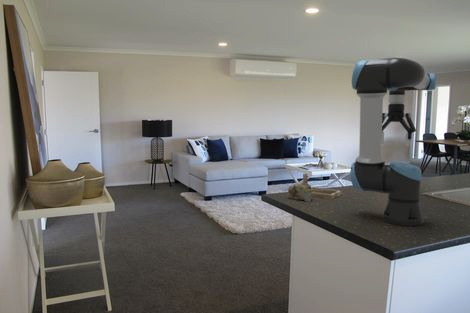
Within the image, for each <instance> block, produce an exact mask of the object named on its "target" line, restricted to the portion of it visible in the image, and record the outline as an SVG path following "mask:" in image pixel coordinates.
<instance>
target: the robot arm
mask: <svg viewBox="0 0 470 313" xmlns="http://www.w3.org/2000/svg"><path fill="white" fill-rule="evenodd" d="M437 81H438V80H437V74H436V73H431V72H429V73H426V72H425V69H424V67H423V66H422V65H421V64H420V63H419V62H417V61H415V60H411V59H408V58H405V57H404V58H403V57H389V58H388V57H386V58H368V59H362V60H359V61H357V63H355V65H354V67H353V71H352V75H351V87H352V89H353V90H355V91H356V95H357V96H358V98H360V99H359V100H360V102H359V105H360V106H359V108H360V110H359V111H360V112H359V145H358V146H359V147H358V148H359V151H358V154H359V155H358V156H357V157H356V158H355V159H354V160H355V162H352V163H351V165H350V171H349V172H350V173H349V175H350V176H349V177H350V182H351V185H352V186H353V188H354V189H355V190H357V191H363V192H372V193H381V194H388V197H387V202H386V205H385V207H384V209H383V212H382V220H383V221H384V222H387V223H389V224H392V225H396V226H403V227H417V226H421V225H423V224H424V214H423V211H422V207H421V203H420V201H421V188H422V187H421V184H422V180H423V179H422V169H421V168H420V167H419V166H417V165H416V164H411V163H407V162H401V161H391V162H390V164H386V163H385V161H386V160H385V158H384V157H383V156H382V145H384V143H385V131H384V130H385V129H386V128H387V127H388V126H389V125H390V123H393V122H394V123H400V124H401V125H402V126H403V128H404V129H405V131H406V133H405V143H404V144H405V147H409V146H410V143H411V142H410V141H411V140H412V138H413V137H412V136H413V133H416V131H417V129H416V127H415V125H414V122H413V121H412V118H411V113H409V112H407V113H404V112H405V101H406V99H405V98H406V92H407V91H433V90H436V87H437ZM387 94H388V103H389V104H388V106H387V108H388V109H387V110H388V113H386V112H383V108H384V106H383V104H384V102H383V101H384V98H385V96H386V95H387ZM387 117H388V118H387ZM386 118H387V119H386ZM404 118H405V119H406V121H405V119H404ZM385 120H386V121H385Z"/></svg>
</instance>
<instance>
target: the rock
mask: <svg viewBox="0 0 470 313" xmlns="http://www.w3.org/2000/svg"><path fill="white" fill-rule="evenodd" d="M311 187H312V185H310V184H309V182H308V183H303V181H301V182H300V183H294V184H292V185H289V186H288V188H287V193H288V197H289V198H290V199H293V200H297V201H298V200H303V201H304V202H306V203H310V202H311V201H312V197H313V196H312V195H313V192H314V191H312V189H311Z"/></svg>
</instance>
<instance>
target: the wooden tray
mask: <svg viewBox="0 0 470 313" xmlns="http://www.w3.org/2000/svg"><path fill="white" fill-rule="evenodd" d="M308 176H309V174H308V173H302V182H303V183H308V184H309V182H308V181H309V178H308ZM311 189H312V192H313V195H312V196H311V197H312V198H313V197H314V198H319V199H326V200H332V199H335V198H337V197H339V196H342V195H343V194H342V193H343V192H342V190H337V189H331V188H324V187H318V186H311Z"/></svg>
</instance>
